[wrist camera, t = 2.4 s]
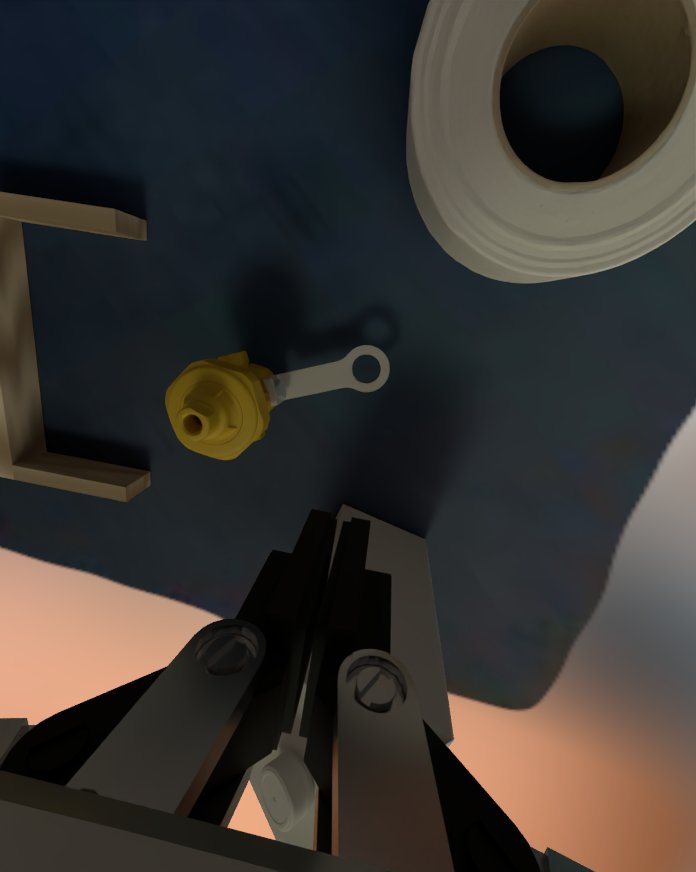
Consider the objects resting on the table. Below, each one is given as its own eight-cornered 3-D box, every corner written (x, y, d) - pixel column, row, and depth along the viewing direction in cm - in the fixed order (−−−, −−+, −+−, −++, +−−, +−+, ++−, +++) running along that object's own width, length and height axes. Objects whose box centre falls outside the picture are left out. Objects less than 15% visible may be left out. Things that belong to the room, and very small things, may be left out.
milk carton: (426, 537, 30) (475, 874, 12) (388, 603, 32) (381, 969, 14) (343, 501, 30) (266, 787, 12) (310, 570, 32) (205, 897, 14)
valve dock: (2, 199, 26) (-46, 184, 23) (146, 220, 25) (114, 208, 22) (34, 462, 32) (-1, 476, 29) (150, 484, 31) (126, 501, 28)
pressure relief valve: (217, 356, 27) (123, 378, 18) (381, 317, 25) (374, 319, 16) (240, 428, 29) (164, 485, 19) (397, 397, 27) (399, 443, 17)
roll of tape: (677, 270, 23) (763, 257, 18) (411, 296, 25) (415, 291, 20) (732, -85, 18) (871, -248, 13) (399, -16, 20) (401, -132, 15)
